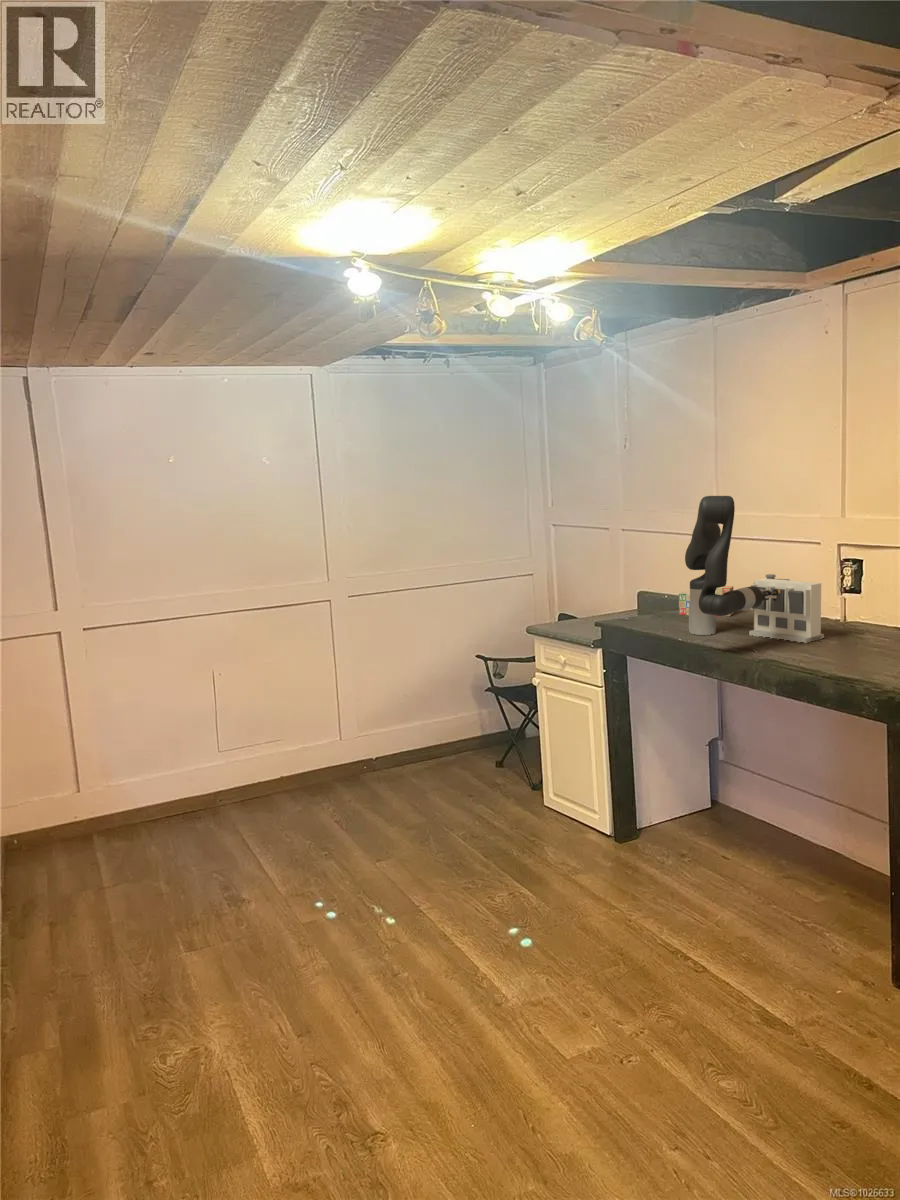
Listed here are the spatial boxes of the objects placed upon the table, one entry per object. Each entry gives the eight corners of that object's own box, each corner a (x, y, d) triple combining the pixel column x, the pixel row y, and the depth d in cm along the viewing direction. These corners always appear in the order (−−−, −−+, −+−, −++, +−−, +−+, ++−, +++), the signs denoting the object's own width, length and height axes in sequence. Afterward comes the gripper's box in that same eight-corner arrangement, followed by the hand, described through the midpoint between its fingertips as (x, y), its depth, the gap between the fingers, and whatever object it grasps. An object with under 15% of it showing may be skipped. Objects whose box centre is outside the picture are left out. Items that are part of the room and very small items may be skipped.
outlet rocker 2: (793, 611, 317) (790, 590, 315) (806, 612, 313) (803, 591, 311) (790, 612, 316) (787, 591, 314) (803, 614, 312) (800, 592, 310)
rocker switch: (753, 608, 328) (757, 587, 328) (765, 610, 324) (768, 588, 324) (751, 608, 327) (754, 586, 327) (763, 609, 323) (766, 587, 323)
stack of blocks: (678, 615, 379) (678, 586, 377) (682, 612, 384) (682, 584, 383) (730, 617, 368) (730, 587, 367) (733, 614, 374) (733, 585, 372)
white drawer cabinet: (767, 630, 337) (767, 577, 334) (823, 638, 318) (824, 582, 315) (749, 635, 330) (749, 581, 327) (805, 643, 312) (806, 586, 309)
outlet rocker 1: (772, 610, 322) (773, 588, 321) (785, 611, 318) (786, 589, 317) (769, 610, 321) (770, 588, 320) (782, 612, 317) (783, 589, 316)
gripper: (762, 589, 302) (792, 583, 312) (729, 586, 313) (759, 580, 323) (762, 611, 303) (792, 604, 313) (729, 607, 314) (759, 601, 324)
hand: (775, 592), depth 318 cm, fingers closed
